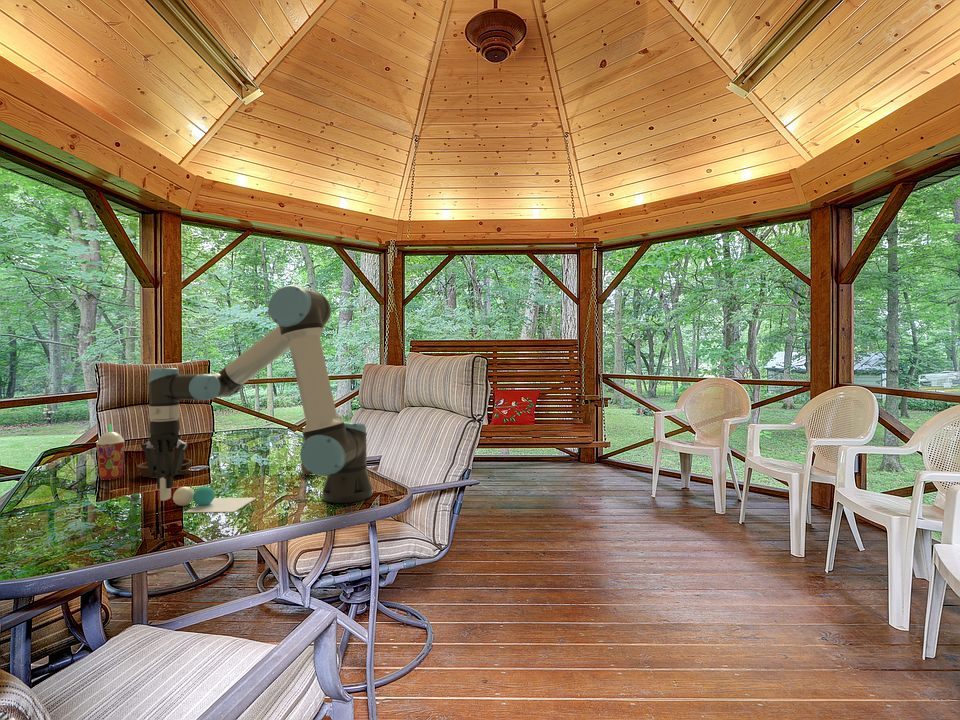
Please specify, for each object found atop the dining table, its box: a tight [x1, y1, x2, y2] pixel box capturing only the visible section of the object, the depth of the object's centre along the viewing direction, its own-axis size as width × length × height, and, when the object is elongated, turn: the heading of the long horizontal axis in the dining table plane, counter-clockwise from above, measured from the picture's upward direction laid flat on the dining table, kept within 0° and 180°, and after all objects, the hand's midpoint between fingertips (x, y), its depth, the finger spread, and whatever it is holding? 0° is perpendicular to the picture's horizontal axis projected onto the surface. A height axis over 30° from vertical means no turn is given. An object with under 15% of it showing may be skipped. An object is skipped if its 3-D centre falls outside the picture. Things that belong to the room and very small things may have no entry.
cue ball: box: [172, 486, 195, 507], centre depth 146 cm, size 6×6×6 cm
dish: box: [136, 458, 193, 478], centre depth 186 cm, size 18×22×5 cm
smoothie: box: [96, 424, 125, 480], centre depth 180 cm, size 8×8×20 cm
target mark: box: [184, 497, 258, 514], centre depth 146 cm, size 14×14×1 cm
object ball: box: [193, 485, 215, 506], centre depth 146 cm, size 6×6×6 cm
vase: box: [300, 461, 313, 475], centre depth 184 cm, size 7×7×9 cm
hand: (165, 499), depth 146 cm, fingers closed
